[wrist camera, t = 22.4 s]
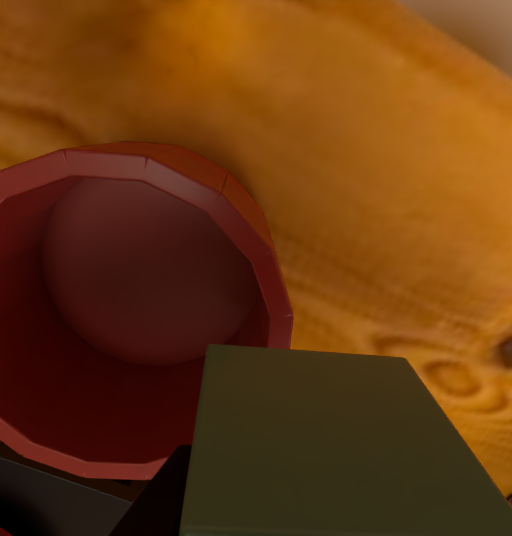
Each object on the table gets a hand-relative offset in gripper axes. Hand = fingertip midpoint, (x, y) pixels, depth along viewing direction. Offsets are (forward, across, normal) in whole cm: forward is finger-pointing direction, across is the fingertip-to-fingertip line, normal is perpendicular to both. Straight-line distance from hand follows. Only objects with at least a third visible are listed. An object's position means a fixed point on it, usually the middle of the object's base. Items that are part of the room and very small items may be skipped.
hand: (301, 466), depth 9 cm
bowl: (+10, +5, 0) cm, 12 cm away
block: (+1, 0, 0) cm, 1 cm away
